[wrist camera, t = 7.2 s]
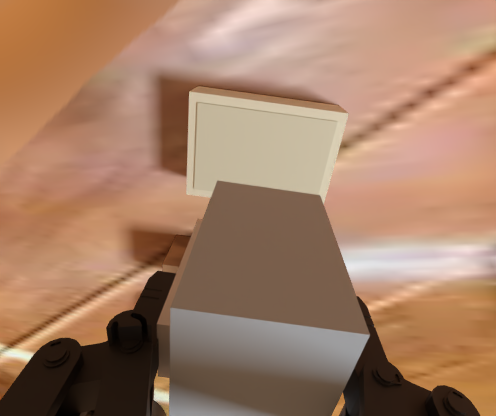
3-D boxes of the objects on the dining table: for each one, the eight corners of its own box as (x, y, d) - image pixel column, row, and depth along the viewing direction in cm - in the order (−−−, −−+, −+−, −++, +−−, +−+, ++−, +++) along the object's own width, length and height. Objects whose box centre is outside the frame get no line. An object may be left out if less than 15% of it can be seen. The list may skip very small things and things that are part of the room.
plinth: (194, 179, 34) (185, 195, 31) (198, 85, 30) (188, 91, 26) (315, 195, 35) (321, 213, 31) (339, 105, 30) (349, 113, 26)
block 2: (207, 288, 18) (168, 447, 11) (217, 180, 14) (170, 307, 7) (291, 300, 18) (307, 466, 11) (319, 195, 15) (370, 335, 8)
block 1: (175, 270, 41) (162, 303, 36) (176, 234, 38) (162, 264, 33) (219, 276, 41) (212, 310, 36) (223, 240, 38) (216, 272, 33)
